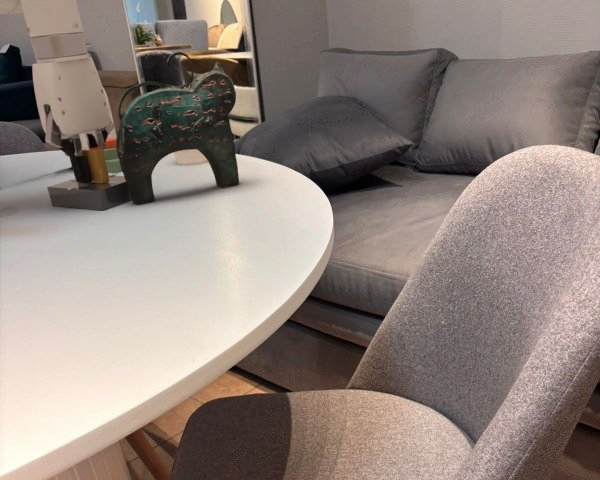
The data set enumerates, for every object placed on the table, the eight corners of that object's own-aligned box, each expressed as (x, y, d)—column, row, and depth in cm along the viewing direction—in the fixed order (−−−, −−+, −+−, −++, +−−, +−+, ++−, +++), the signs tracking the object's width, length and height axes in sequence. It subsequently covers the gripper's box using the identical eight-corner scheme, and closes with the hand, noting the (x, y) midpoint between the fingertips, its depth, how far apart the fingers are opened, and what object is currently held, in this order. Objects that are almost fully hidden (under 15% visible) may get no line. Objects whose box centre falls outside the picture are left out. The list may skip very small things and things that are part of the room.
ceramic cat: (239, 178, 110) (221, 46, 99) (253, 184, 105) (237, 46, 94) (125, 200, 103) (93, 60, 92) (134, 208, 98) (102, 61, 87)
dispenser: (82, 171, 128) (76, 150, 125) (111, 162, 133) (106, 142, 131) (117, 173, 123) (112, 151, 121) (146, 164, 128) (142, 143, 126)
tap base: (49, 206, 104) (43, 186, 102) (96, 191, 111) (91, 172, 109) (100, 211, 98) (94, 190, 96) (146, 194, 105) (142, 175, 103)
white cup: (169, 161, 129) (159, 107, 124) (206, 155, 131) (198, 102, 126) (178, 167, 122) (168, 111, 117) (217, 161, 125) (209, 105, 120)
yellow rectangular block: (76, 181, 104) (68, 147, 101) (84, 179, 105) (75, 146, 102) (102, 183, 101) (94, 148, 98) (109, 181, 102) (101, 146, 99)
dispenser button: (96, 150, 126) (94, 141, 125) (110, 147, 128) (108, 137, 127) (109, 151, 124) (107, 141, 123) (122, 147, 126) (120, 137, 126)
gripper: (85, 46, 101) (113, 167, 110) (-3, 56, 89) (36, 190, 99) (119, 43, 97) (144, 168, 107) (31, 53, 86) (68, 193, 95)
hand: (92, 178), depth 103 cm, fingers closed
